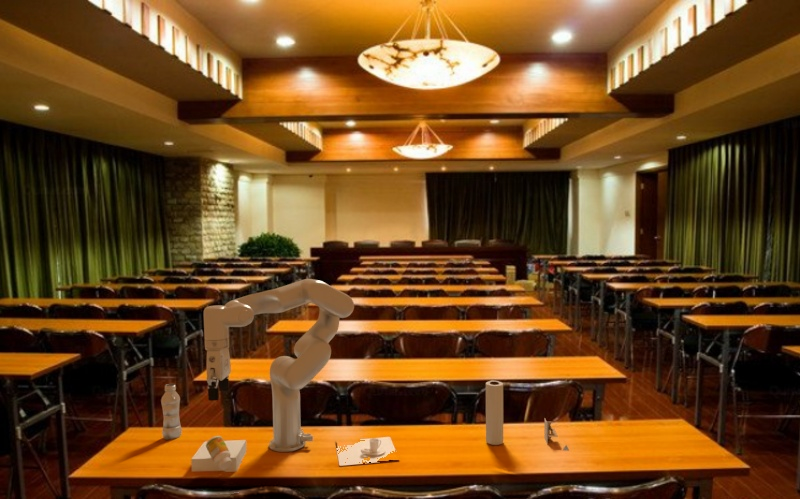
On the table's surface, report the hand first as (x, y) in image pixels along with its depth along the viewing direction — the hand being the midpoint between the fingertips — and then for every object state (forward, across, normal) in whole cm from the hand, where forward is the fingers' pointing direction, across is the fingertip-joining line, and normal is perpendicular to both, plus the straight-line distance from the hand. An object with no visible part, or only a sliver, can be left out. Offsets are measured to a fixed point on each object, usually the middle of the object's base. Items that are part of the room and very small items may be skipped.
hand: (219, 395), depth 181 cm
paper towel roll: (+23, +16, -92) cm, 97 cm away
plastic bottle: (+23, +20, +25) cm, 39 cm away
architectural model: (+24, +17, -112) cm, 115 cm away
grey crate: (+23, 0, 0) cm, 23 cm away
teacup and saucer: (+24, +10, -47) cm, 53 cm away
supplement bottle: (+13, -5, 0) cm, 14 cm away
